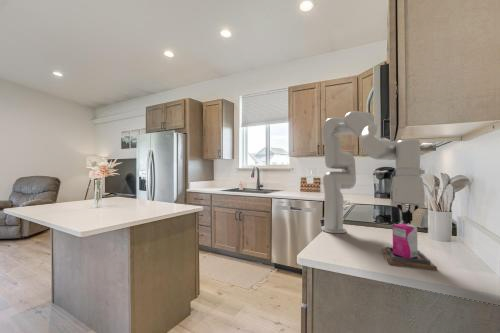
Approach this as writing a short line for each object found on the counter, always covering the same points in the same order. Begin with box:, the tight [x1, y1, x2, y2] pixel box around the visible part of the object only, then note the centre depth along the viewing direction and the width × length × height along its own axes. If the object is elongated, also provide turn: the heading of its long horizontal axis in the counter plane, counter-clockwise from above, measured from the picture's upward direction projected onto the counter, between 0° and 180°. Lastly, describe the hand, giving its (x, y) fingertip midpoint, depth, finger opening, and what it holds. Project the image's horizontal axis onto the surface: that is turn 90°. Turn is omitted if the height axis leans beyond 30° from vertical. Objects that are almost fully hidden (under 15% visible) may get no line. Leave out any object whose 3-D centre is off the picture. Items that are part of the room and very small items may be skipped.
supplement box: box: [392, 223, 419, 259], centre depth 89 cm, size 6×6×12 cm
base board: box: [380, 246, 438, 272], centre depth 88 cm, size 14×14×2 cm
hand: (406, 222), depth 88 cm, fingers closed
